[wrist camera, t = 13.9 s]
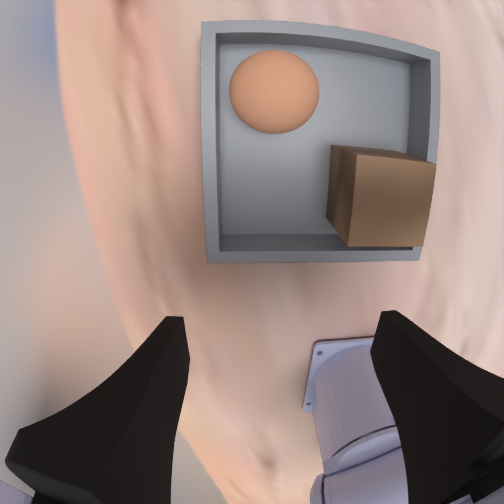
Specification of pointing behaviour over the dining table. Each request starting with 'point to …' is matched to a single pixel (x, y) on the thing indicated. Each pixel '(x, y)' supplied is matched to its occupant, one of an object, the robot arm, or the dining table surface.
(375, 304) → the dining table surface
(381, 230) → the cube
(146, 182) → the dining table surface
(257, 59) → the ball
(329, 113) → the tray
